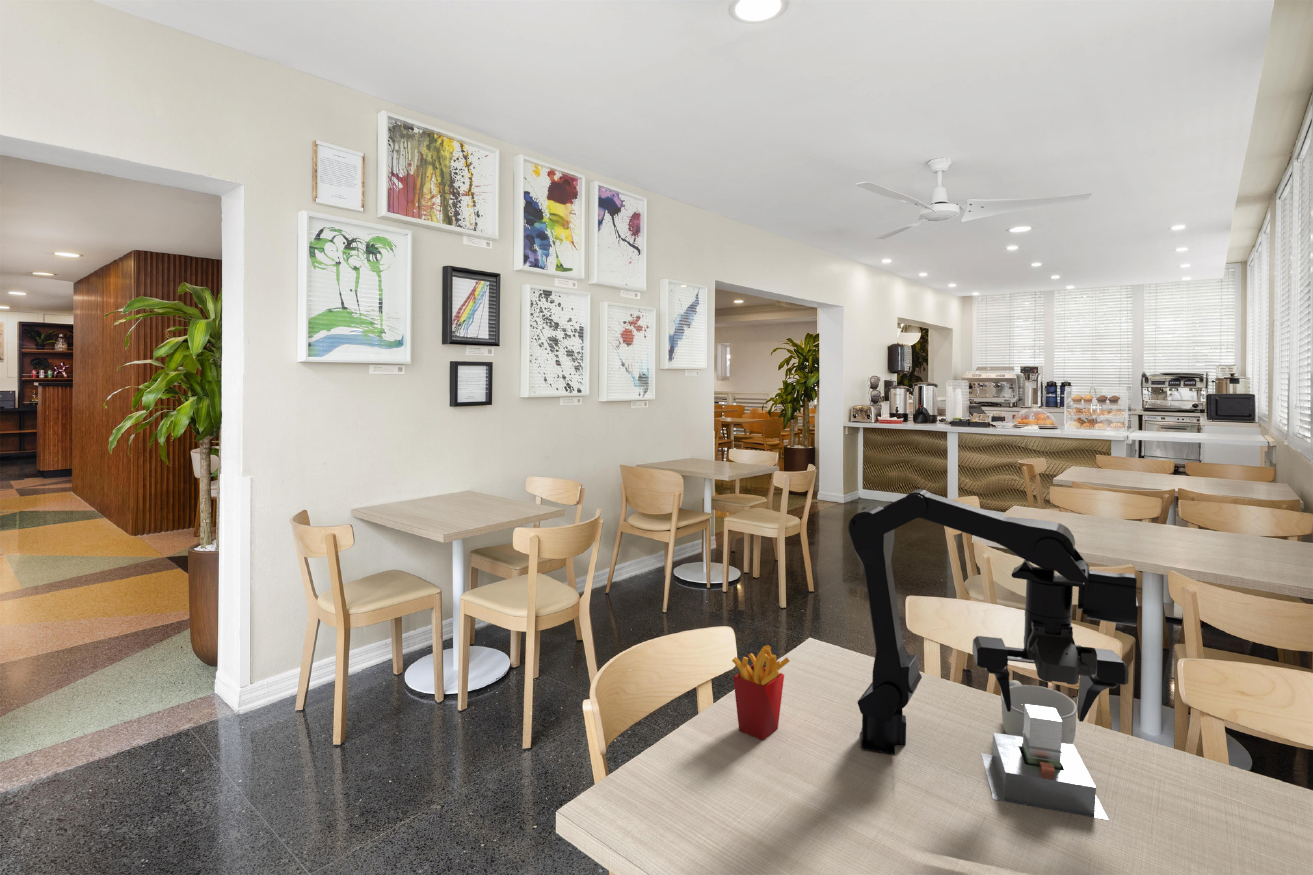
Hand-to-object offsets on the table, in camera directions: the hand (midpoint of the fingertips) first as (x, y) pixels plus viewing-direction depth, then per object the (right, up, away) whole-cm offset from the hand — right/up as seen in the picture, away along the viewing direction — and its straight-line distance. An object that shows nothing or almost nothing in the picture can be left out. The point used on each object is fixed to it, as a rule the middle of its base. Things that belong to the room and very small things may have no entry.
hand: (1043, 715), depth 95 cm
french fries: (-37, -11, +18) cm, 43 cm away
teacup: (+7, -11, +15) cm, 19 cm away
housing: (0, -12, +1) cm, 12 cm away
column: (0, -7, +1) cm, 7 cm away
